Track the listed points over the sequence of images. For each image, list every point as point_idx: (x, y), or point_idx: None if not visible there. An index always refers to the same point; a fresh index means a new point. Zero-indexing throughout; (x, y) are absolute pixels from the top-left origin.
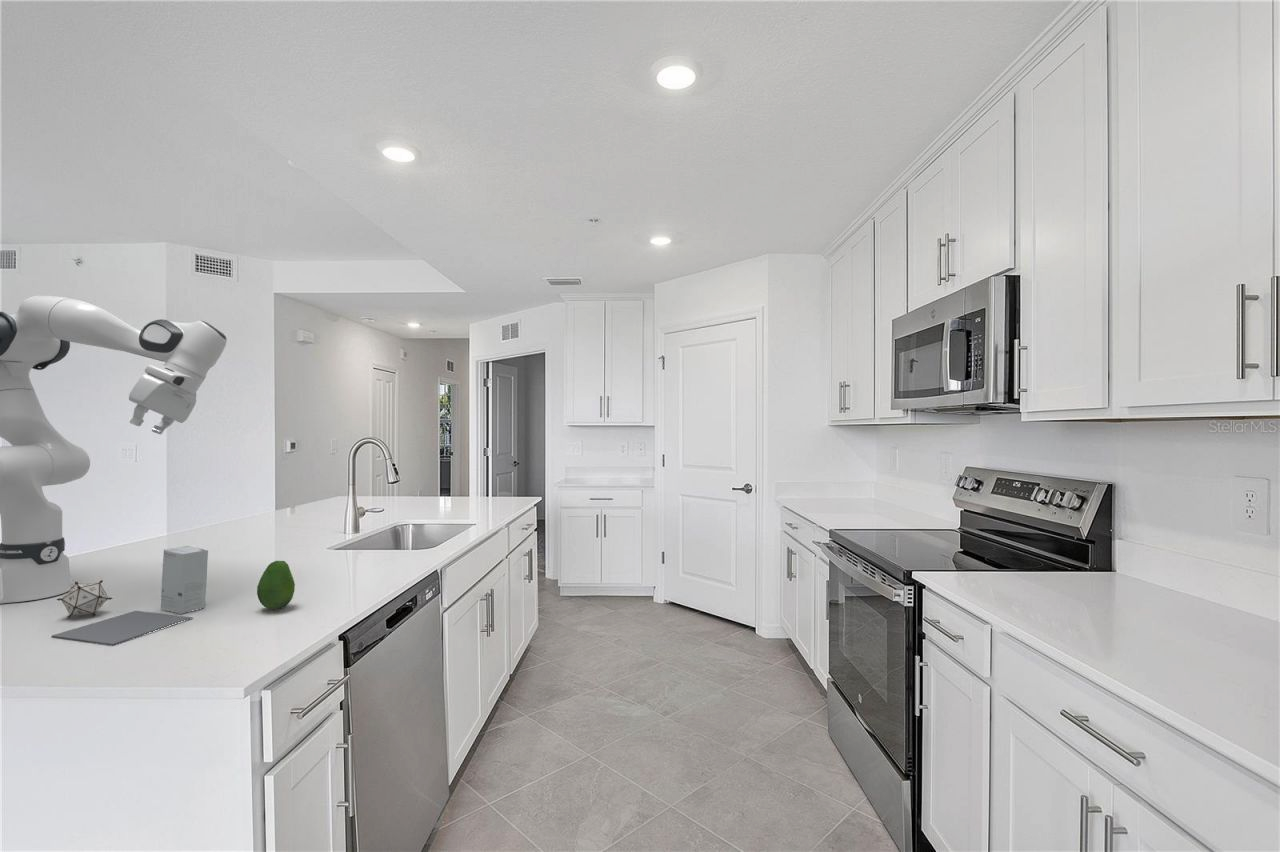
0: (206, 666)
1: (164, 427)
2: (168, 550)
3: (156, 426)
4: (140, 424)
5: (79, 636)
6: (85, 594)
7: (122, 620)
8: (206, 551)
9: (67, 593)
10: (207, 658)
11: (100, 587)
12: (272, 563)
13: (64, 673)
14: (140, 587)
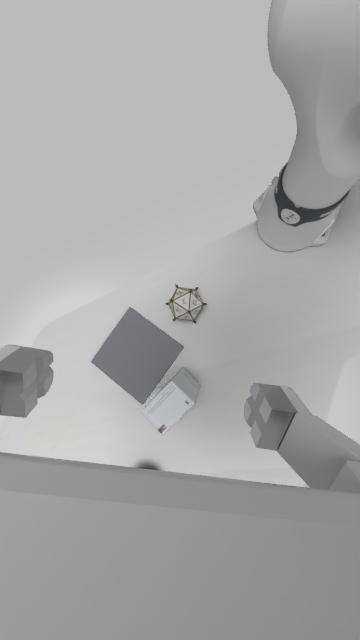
0: (23, 440)
1: (285, 456)
2: (165, 388)
3: (264, 415)
4: (37, 392)
5: (119, 329)
6: (172, 307)
7: (153, 346)
8: (161, 433)
9: (181, 289)
10: (38, 437)
11: (186, 314)
12: None
13: (46, 350)
14: (290, 317)
